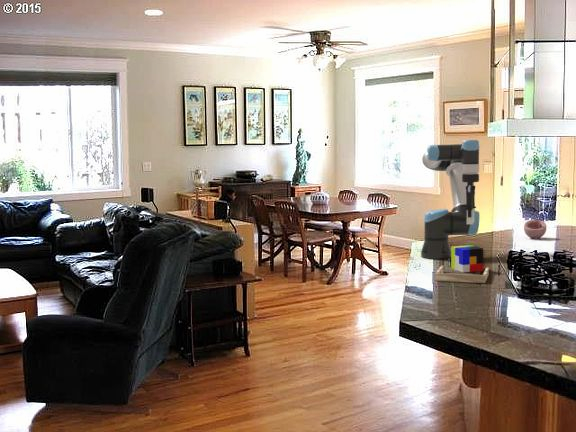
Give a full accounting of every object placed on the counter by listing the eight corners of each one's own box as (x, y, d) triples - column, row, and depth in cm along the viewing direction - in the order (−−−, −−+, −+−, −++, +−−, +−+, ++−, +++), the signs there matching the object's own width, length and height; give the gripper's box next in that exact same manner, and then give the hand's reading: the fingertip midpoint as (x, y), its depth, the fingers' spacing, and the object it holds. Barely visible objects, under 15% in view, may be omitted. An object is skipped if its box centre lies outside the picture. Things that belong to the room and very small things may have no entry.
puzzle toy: (462, 272, 288) (462, 249, 287) (451, 268, 298) (451, 246, 296) (483, 270, 291) (483, 248, 289) (471, 266, 300) (471, 245, 299)
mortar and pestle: (524, 240, 372) (524, 219, 371) (523, 236, 383) (523, 217, 382) (547, 240, 368) (547, 219, 367) (545, 237, 380) (545, 217, 378)
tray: (441, 272, 289) (441, 265, 289) (488, 274, 282) (488, 267, 282) (434, 280, 273) (434, 273, 272) (485, 283, 265) (485, 275, 265)
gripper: (464, 172, 313) (464, 220, 316) (459, 174, 296) (459, 225, 298) (480, 172, 311) (480, 220, 313) (477, 174, 293) (476, 226, 296)
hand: (470, 223), depth 306 cm, fingers open, 6 cm apart
